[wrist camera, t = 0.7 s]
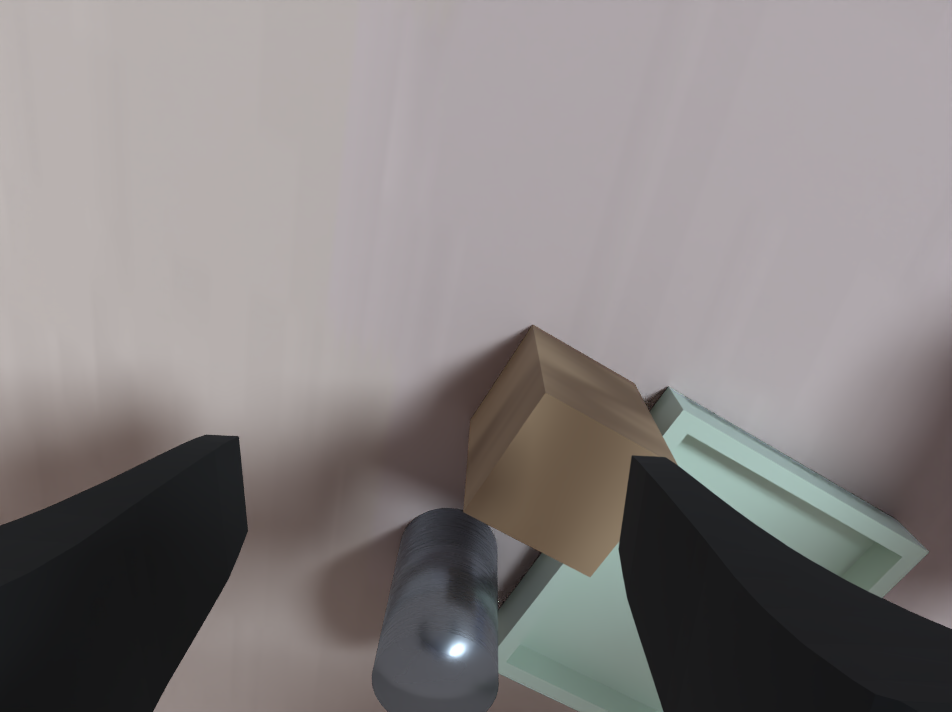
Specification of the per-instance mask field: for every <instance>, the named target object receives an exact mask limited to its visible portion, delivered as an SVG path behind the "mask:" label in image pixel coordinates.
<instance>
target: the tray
mask: <svg viewBox="0 0 952 712" xmlns="http://www.w3.org/2000/svg"><path fill="white" fill-rule="evenodd" d="M650 414H651V415H652V417H653V419H654V421H655V423H656V425H657V427H658V429H659V431H660V432H661V434H662V436H663V438H664V440H665V442H666V444H667V446H668V448H669V449H670V451H671V453H672V455H673V457H674V459H675V461H676V463H677V465H678V466H679V467H681V468H682V469H683V470H685V471H686V472H687V473H688V474H690V475H691V476H692V477H694V478H695V479H696V480H697V481H699V482H700V483H701V484H703V485H704V486H705V487H706V488H708V489H709V490H710V491H712V492H713V493H714V494H715V495H717V496H718V497H719V498H721V499H722V500H723V501H725V502H726V503H727V504H729V505H730V506H731V507H732V508H734V509H735V510H737V511H738V512H739V513H741V514H742V515H743V516H745V517H746V518H748V519H749V520H750V521H752V522H753V523H755V524H756V525H757V526H759V527H760V528H762V529H763V530H765V531H766V532H768V533H769V534H771V535H772V536H774V537H775V538H777V539H778V540H780V541H781V542H783V543H784V544H786V545H787V546H789V547H790V548H792V549H793V550H795V551H797V552H798V553H800V554H801V555H803V556H805V557H806V558H808V559H810V560H812V561H813V562H815V563H817V564H819V565H820V566H822V567H824V568H826V569H827V570H829V571H831V572H833V573H834V574H836V575H838V576H840V577H842V578H843V579H845V580H847V581H849V582H851V583H853V584H855V585H857V586H859V587H861V588H862V589H864V590H866V591H868V592H870V593H872V594H875V595H877V596H879V597H881V598H883V597H884V596H885V595H886V594H887V593H888V592H889V591H890V590H891V589H892V588H893V587H894V586H895V585H896V584H897V583H898V582H899V581H900V580H901V579H902V578H903V577H904V576H905V575H906V574H907V573H908V572H909V571H910V570H911V569H912V568H913V567H914V566H915V565H916V564H918V563H919V562H920V561H921V560H922V559H923V558H924V557H925V556H926V555H927V554H928V553H929V551H928V550H927V549H926V548H925V547H924V546H923V545H922V544H921V543H920V542H919V541H918V540H917V539H916V538H915V537H914V536H913V535H912V534H911V533H910V532H909V531H908V530H907V529H906V528H905V527H904V526H903V525H902V524H901V523H900V522H899V521H898V520H896V519H894V518H893V517H891V516H889V515H888V514H886V513H884V512H882V511H881V510H879V509H877V508H876V507H874V506H872V505H871V504H869V503H867V502H865V501H864V500H862V499H860V498H859V497H857V496H855V495H853V494H852V493H850V492H848V491H847V490H845V489H843V488H841V487H840V486H838V485H836V484H835V483H833V482H831V481H829V480H828V479H826V478H824V477H823V476H821V475H819V474H817V473H816V472H814V471H812V470H811V469H809V468H807V467H805V466H804V465H802V464H800V463H799V462H797V461H795V460H793V459H792V458H790V457H788V456H787V455H785V454H783V453H781V452H780V451H778V450H776V449H775V448H773V447H771V446H769V445H768V444H766V443H764V442H763V441H761V440H759V439H757V438H756V437H754V436H752V435H751V434H749V433H747V432H745V431H744V430H742V429H740V428H739V427H737V426H735V425H733V424H732V423H730V422H728V421H727V420H725V419H723V418H721V417H720V416H718V415H716V414H715V413H713V412H711V411H709V410H708V409H706V408H704V407H703V406H701V405H699V404H697V403H696V402H694V401H692V400H691V399H689V398H687V397H686V396H684V395H682V394H680V393H679V392H677V391H675V390H674V389H672V388H670V387H668V388H667V389H666V391H665V392H664V393H663V394H662V396H661V397H660V398H659V400H658V401H657V402H656V404H655V405H654V406H653V408H652V409H651V410H650ZM618 548H619V542H618V544H617V545H616V546H615V547H614V549H613V550H612V551H611V552H610V554H609V555H608V556H607V557H606V559H605V560H604V561H603V562H602V563H601V565H600V566H599V567H598V568H597V570H596V571H595V572H594V573H593V575H592V576H591V577H588V576H586V575H584V574H582V573H580V572H578V571H577V570H575V569H573V568H571V567H569V566H567V565H565V564H563V563H561V562H559V561H557V560H555V559H553V558H551V557H549V556H547V555H545V554H544V553H541V555H540V556H539V557H538V559H537V560H536V561H535V563H534V564H533V565H532V567H531V568H530V569H529V571H528V572H527V573H526V574H525V576H524V577H523V578H522V580H521V581H520V582H519V584H518V585H517V586H516V588H515V589H514V590H513V592H512V593H511V594H510V596H509V597H508V598H507V599H506V601H505V602H504V603H503V605H502V606H501V607H500V609H499V610H498V673H499V674H501V675H503V676H505V677H507V678H509V679H511V680H513V681H515V682H518V683H520V684H522V685H524V686H526V687H528V688H530V689H532V690H534V691H537V692H539V693H541V694H543V695H545V696H547V697H549V698H551V699H553V700H555V701H558V702H560V703H562V704H564V705H566V706H568V707H570V708H572V709H574V710H577V711H579V712H663V709H662V706H661V702H660V699H659V696H658V693H657V690H656V687H655V684H654V681H653V678H652V675H651V672H650V669H649V666H648V663H647V659H646V656H645V653H644V650H643V647H642V644H641V641H640V638H639V635H638V632H637V628H636V625H635V622H634V619H633V616H632V613H631V610H630V606H629V603H628V600H627V595H626V590H625V585H624V580H623V574H622V568H621V562H620V556H619V550H618Z"/></svg>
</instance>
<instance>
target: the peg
mask: <svg viewBox="0 0 952 712" xmlns="http://www.w3.org/2000/svg"><path fill="white" fill-rule="evenodd" d="M372 685H373V689H374V693H375V695H376V697H377V699H378V700H379V702H380V703H381V705H382V706H383V707H384V708H385V709H386V710H387V711H388V712H486V711H487V710H488V709H489V708H490V707H491V705H492V704H493V702H494V700H495V698H496V695H497V692H498V685H499V683H498V578H497V543H496V539H495V537H494V534H493V533H492V531H491V529H490V528H489V527H488V525H487V524H485V523H483V522H481V521H479V520H478V519H476V518H474V517H472V516H470V515H468V514H466V513H464V512H463V510H459V509H452V508H442V509H435V510H431V511H428V512H426V513H423V514H422V515H420V516H418V517H417V518H415V519H414V520H413V521H412V522H411V523H410V524H409V525H408V526H407V528H406V529H405V531H404V533H403V536H402V539H401V543H400V548H399V552H398V557H397V562H396V566H395V571H394V575H393V580H392V585H391V589H390V594H389V598H388V603H387V608H386V612H385V617H384V621H383V626H382V631H381V635H380V640H379V644H378V649H377V654H376V658H375V663H374V667H373V672H372Z"/></svg>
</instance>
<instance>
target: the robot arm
mask: <svg viewBox="0 0 952 712" xmlns="http://www.w3.org/2000/svg"><path fill="white" fill-rule="evenodd" d="M247 532H248V527H247V517H246V506H245V496H244V486H243V475H242V465H241V455H240V445H239V436H221V435H204V436H201V437H198V438H195V439H193V440H191V441H188V442H186V443H184V444H182V445H179V446H177V447H175V448H173V449H171V450H169V451H167V452H165V453H163V454H161V455H159V456H157V457H155V458H153V459H151V460H148V461H146V462H144V463H142V464H140V465H138V466H136V467H134V468H132V469H130V470H128V471H126V472H124V473H122V474H120V475H118V476H116V477H114V478H112V479H110V480H108V481H105V482H103V483H101V484H99V485H97V486H94V487H92V488H90V489H88V490H85V491H83V492H81V493H79V494H77V495H74V496H72V497H70V498H68V499H66V500H63V501H61V502H59V503H57V504H54V505H52V506H50V507H47V508H45V509H43V510H40V511H38V512H35V513H33V514H30V515H28V516H25V517H23V518H20V519H17V520H15V521H12V522H9V523H6V524H4V525H1V526H0V712H153V710H154V709H155V707H156V705H157V703H158V701H159V699H160V697H161V695H162V693H163V692H164V690H165V688H166V686H167V684H168V683H169V681H170V679H171V677H172V676H173V674H174V672H175V671H176V669H177V667H178V665H179V664H180V662H181V660H182V659H183V657H184V655H185V653H186V652H187V650H188V648H189V647H190V645H191V643H192V641H193V640H194V638H195V636H196V635H197V633H198V631H199V630H200V628H201V626H202V624H203V623H204V621H205V619H206V618H207V616H208V614H209V612H210V611H211V609H212V607H213V605H214V604H215V602H216V600H217V598H218V597H219V595H220V593H221V591H222V590H223V588H224V586H225V584H226V582H227V581H228V579H229V577H230V574H231V572H232V570H233V567H234V565H235V562H236V560H237V558H238V555H239V553H240V550H241V547H242V545H243V542H244V540H245V537H246V534H247ZM618 550H619V556H620V562H621V568H622V574H623V580H624V585H625V590H626V595H627V600H628V603H629V606H630V610H631V613H632V616H633V619H634V622H635V625H636V628H637V632H638V635H639V638H640V641H641V644H642V647H643V650H644V653H645V656H646V659H647V663H648V666H649V669H650V672H651V675H652V678H653V681H654V684H655V687H656V690H657V693H658V696H659V699H660V702H661V706H662V709H663V712H952V629H950V628H947V627H945V626H943V625H940V624H938V623H936V622H933V621H931V620H929V619H926V618H924V617H922V616H919V615H917V614H915V613H912V612H910V611H908V610H906V609H904V608H902V607H900V606H898V605H896V604H893V603H891V602H889V601H887V600H885V599H883V598H881V597H879V596H877V595H875V594H872V593H870V592H868V591H866V590H864V589H862V588H861V587H859V586H857V585H855V584H853V583H851V582H849V581H847V580H845V579H843V578H842V577H840V576H838V575H836V574H834V573H833V572H831V571H829V570H827V569H826V568H824V567H822V566H820V565H819V564H817V563H815V562H813V561H812V560H810V559H808V558H806V557H805V556H803V555H801V554H800V553H798V552H797V551H795V550H793V549H792V548H790V547H789V546H787V545H786V544H784V543H783V542H781V541H780V540H778V539H777V538H775V537H774V536H772V535H771V534H769V533H768V532H766V531H765V530H763V529H762V528H760V527H759V526H757V525H756V524H755V523H753V522H752V521H750V520H749V519H748V518H746V517H745V516H743V515H742V514H741V513H739V512H738V511H737V510H735V509H734V508H732V507H731V506H730V505H729V504H727V503H726V502H725V501H723V500H722V499H721V498H719V497H718V496H717V495H715V494H714V493H713V492H712V491H710V490H709V489H708V488H706V487H705V486H704V485H703V484H701V483H700V482H699V481H697V480H696V479H695V478H694V477H692V476H691V475H690V474H688V473H687V472H686V471H685V470H683V469H682V468H681V467H679V466H678V465H677V464H675V463H674V462H672V461H671V460H669V459H668V458H666V457H655V456H635V455H632V457H631V464H630V471H629V478H628V485H627V492H626V499H625V506H624V513H623V520H622V527H621V534H620V541H619V548H618Z"/></svg>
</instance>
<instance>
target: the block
mask: <svg viewBox="0 0 952 712" xmlns="http://www.w3.org/2000/svg"><path fill="white" fill-rule="evenodd" d="M632 455H635V456H655V457H666V458H668V459H669V460H671V461H672V462H674V463H675V464H677V463H676V461H675V459H674V457H673V455H672V453H671V451H670V449H669V448H668V446H667V444H666V442H665V440H664V438H663V436H662V434H661V432H660V431H659V429H658V427H657V425H656V423H655V421H654V419H653V417H652V415H651V414H650V412H649V410H648V408H647V406H646V404H645V402H644V400H643V398H642V397H641V395H640V393H639V391H638V389H637V387H636V385H635V383H633V382H631V381H629V380H628V379H626V378H624V377H622V376H621V375H619V374H617V373H616V372H614V371H612V370H610V369H609V368H607V367H605V366H603V365H602V364H600V363H598V362H597V361H595V360H593V359H591V358H590V357H588V356H586V355H584V354H583V353H581V352H579V351H578V350H576V349H574V348H572V347H571V346H569V345H567V344H565V343H564V342H562V341H560V340H559V339H557V338H555V337H553V336H552V335H550V334H548V333H546V332H545V331H543V330H541V329H540V328H538V327H536V326H534V325H532V326H531V328H530V329H529V331H528V332H527V334H526V336H525V337H524V339H523V340H522V342H521V343H520V345H519V346H518V348H517V349H516V351H515V352H514V354H513V355H512V357H511V358H510V360H509V362H508V363H507V365H506V366H505V368H504V369H503V371H502V372H501V374H500V375H499V377H498V378H497V380H496V381H495V383H494V385H493V386H492V388H491V389H490V391H489V392H488V394H487V395H486V397H485V398H484V400H483V401H482V403H481V404H480V406H479V407H478V409H477V411H476V412H475V414H474V415H473V417H472V418H471V420H470V429H469V442H468V456H467V469H466V482H465V495H464V508H463V512H464V513H466V514H468V515H470V516H472V517H474V518H476V519H478V520H479V521H481V522H483V523H485V524H487V525H489V526H491V527H493V528H495V529H497V530H499V531H501V532H503V533H505V534H507V535H509V536H511V537H512V538H514V539H516V540H518V541H520V542H522V543H524V544H526V545H528V546H530V547H532V548H534V549H536V550H538V551H540V552H542V553H544V554H545V555H547V556H549V557H551V558H553V559H555V560H557V561H559V562H561V563H563V564H565V565H567V566H569V567H571V568H573V569H575V570H577V571H578V572H580V573H582V574H584V575H586V576H588V577H591V576H592V575H593V573H594V572H595V571H596V570H597V568H598V567H599V566H600V565H601V563H602V562H603V561H604V560H605V559H606V557H607V556H608V555H609V554H610V552H611V551H612V550H613V549H614V547H615V546H616V545H617V544H618V542H619V541H620V534H621V527H622V520H623V513H624V506H625V499H626V492H627V485H628V478H629V471H630V464H631V457H632Z"/></svg>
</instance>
